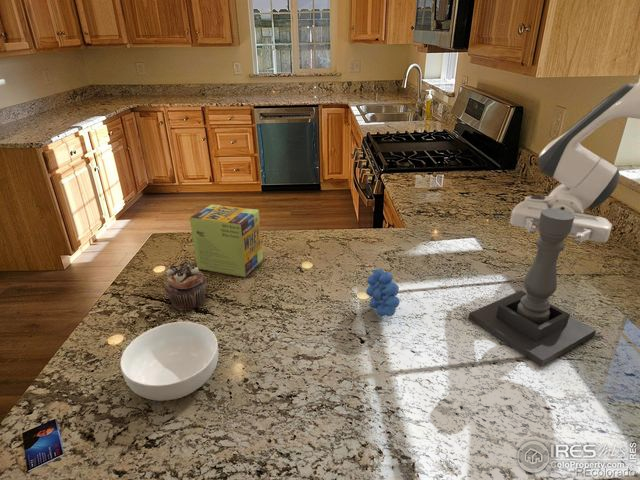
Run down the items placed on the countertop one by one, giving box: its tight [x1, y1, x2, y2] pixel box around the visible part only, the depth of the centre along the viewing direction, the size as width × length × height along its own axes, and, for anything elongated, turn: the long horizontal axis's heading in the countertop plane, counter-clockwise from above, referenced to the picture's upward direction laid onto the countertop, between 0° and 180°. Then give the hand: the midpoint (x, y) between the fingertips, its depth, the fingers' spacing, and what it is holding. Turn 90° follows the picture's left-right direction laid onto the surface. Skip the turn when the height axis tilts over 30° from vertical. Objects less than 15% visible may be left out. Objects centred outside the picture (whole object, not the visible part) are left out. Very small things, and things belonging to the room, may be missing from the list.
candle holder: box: [516, 209, 574, 325], centre depth 86 cm, size 6×6×25 cm
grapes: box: [365, 268, 401, 318], centre depth 94 cm, size 12×7×12 cm, turn 24°
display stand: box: [468, 289, 597, 367], centre depth 91 cm, size 18×18×4 cm
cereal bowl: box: [119, 321, 220, 402], centre depth 78 cm, size 17×17×7 cm
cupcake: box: [163, 261, 207, 311], centre depth 101 cm, size 10×10×10 cm
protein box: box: [189, 204, 264, 278], centre depth 116 cm, size 10×15×16 cm
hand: (554, 234), depth 93 cm, fingers open, 8 cm apart
